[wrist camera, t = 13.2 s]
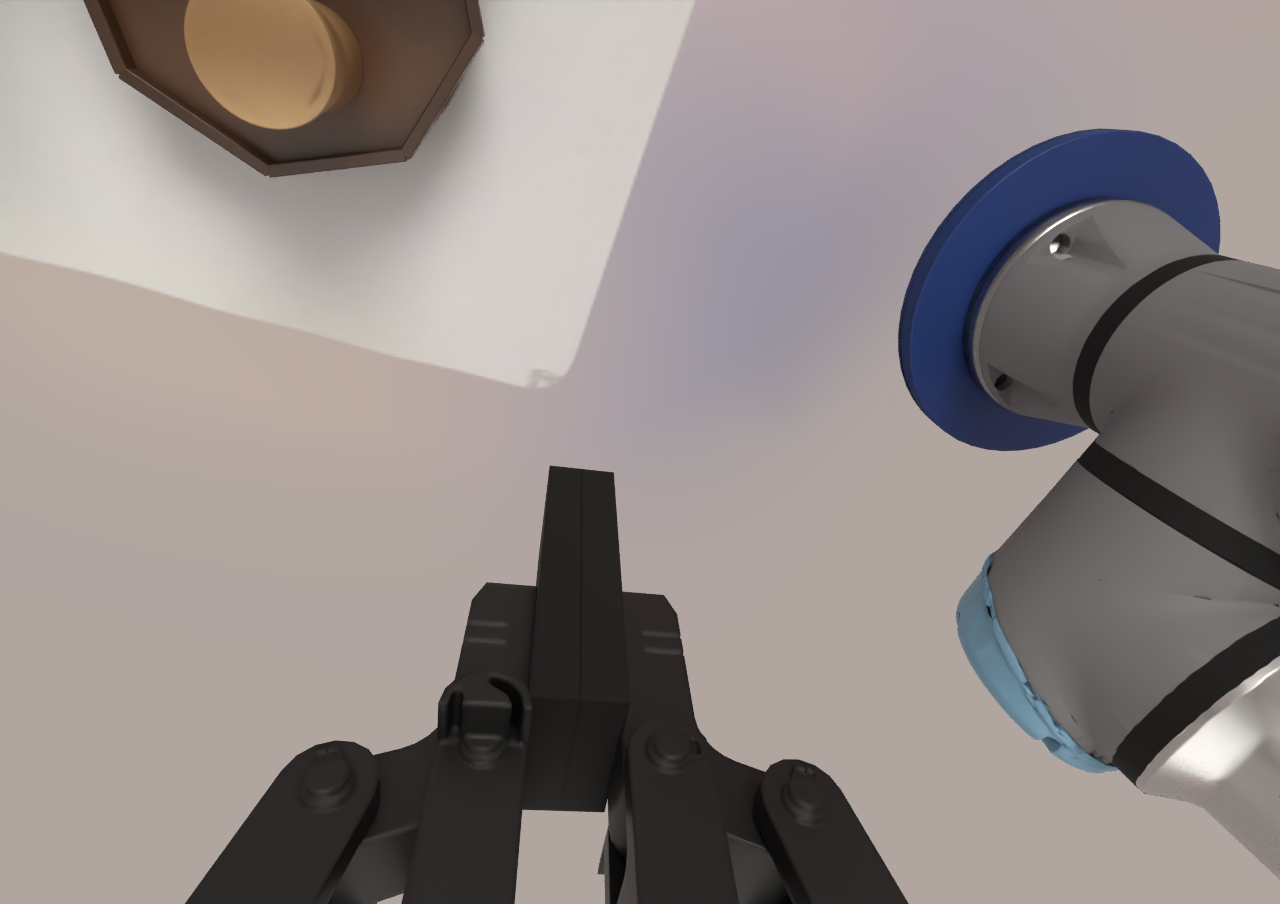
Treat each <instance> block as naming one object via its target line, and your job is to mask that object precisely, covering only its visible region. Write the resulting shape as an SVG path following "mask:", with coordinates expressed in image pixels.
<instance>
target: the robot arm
mask: <svg viewBox="0 0 1280 904" xmlns="http://www.w3.org/2000/svg"><path fill="white" fill-rule="evenodd" d="M962 344H963V355H964V360H965V364H966V367H967V370H968V372H969V374H970V376H971V378H972V380H973V381H974V383H975V384H976V385H977V387H978V388H979V389H980V390H981V391H982V392H983V393H984V394H985V395H987V396H988V397H990V398H991V399H993V400H994V401H996V402H997V403H999V404H1000V405H1002V406H1003V407H1005V408H1006V409H1008V410H1010V411H1012V412H1014V413H1017V414H1020V415H1023V416H1028V417H1034V418H1039V419H1045V420H1050V421H1055V422H1060V423H1065V424H1070V425H1076V426H1081V427H1086V428H1090V429H1092V430H1093V431H1095V432H1097V433H1098V434H1099V436H1098V437H1097V438H1096V439H1095V440H1094V442H1093V443H1092V444H1091V445H1090V446H1089V447H1088V448H1087V450H1086V451H1085V452H1084V453H1083V454H1082V455H1081V457H1080V458H1079V459H1077V461H1076V462H1075V463H1074V464H1073V465H1072V466H1071V468H1070V469H1069V470H1068V471H1067V472H1066V473H1065V475H1064V476H1063V477H1062V478H1061V479H1060V480H1059V481H1058V483H1057V484H1056V485H1055V486H1054V487H1053V489H1052V490H1051V491H1050V492H1049V493H1048V494H1047V495H1046V497H1045V498H1044V499H1043V500H1042V501H1041V502H1040V503H1039V504H1038V506H1037V507H1036V508H1035V509H1034V510H1033V511H1032V512H1031V513H1030V515H1029V516H1028V517H1027V518H1026V519H1025V520H1024V521H1023V522H1022V523H1021V525H1020V526H1019V527H1018V528H1017V529H1016V530H1015V531H1014V532H1013V534H1012V535H1011V536H1010V537H1009V538H1008V539H1007V540H1006V541H1005V543H1004V544H1003V545H1002V546H1001V547H1000V548H999V549H998V550H997V551H996V552H994V553H992V554H990V556H989V557H988V558H987V559H986V561H985V563H984V565H983V568H982V571H981V572H980V574H979V575H978V576H977V578H976V579H975V580H974V581H973V583H972V584H971V585H970V587H969V588H968V589H967V590H966V592H965V593H964V594H963V596H962V597H961V599H960V601H959V604H958V607H957V612H956V617H957V625H958V636H959V639H960V642H961V645H962V647H963V649H964V652H965V654H966V656H967V658H968V660H969V662H970V664H971V666H972V667H973V669H974V670H975V672H976V674H977V675H978V676H979V678H980V679H981V681H982V683H983V684H984V686H985V687H986V688H987V689H988V691H989V692H990V693H991V695H992V696H993V697H994V698H995V700H996V701H997V702H998V703H999V705H1000V706H1001V707H1002V708H1003V709H1004V710H1005V712H1006V713H1007V714H1008V715H1009V716H1010V717H1011V718H1012V719H1013V720H1014V721H1015V722H1016V723H1017V724H1018V725H1019V726H1020V727H1021V728H1022V729H1023V730H1024V731H1025V732H1026V733H1027V734H1029V735H1030V736H1031V737H1032V738H1033V739H1036V740H1040V739H1041V740H1042V741H1043V742H1044V744H1045V745H1046V746H1047V748H1048V749H1049V751H1050V752H1051V753H1052V754H1054V755H1055V756H1057V757H1058V758H1059V759H1061V760H1062V761H1064V762H1066V763H1067V764H1069V765H1071V766H1073V767H1076V768H1079V769H1082V770H1084V771H1087V772H1090V773H1103V772H1106V771H1116V770H1118V769H1119V770H1120V771H1121V772H1122V773H1123V774H1124V775H1125V776H1126V777H1127V778H1128V779H1129V780H1130V781H1131V782H1132V783H1134V785H1135V786H1136V787H1137V788H1138V789H1140V790H1141V791H1142V792H1143V793H1145V794H1149V795H1154V796H1160V797H1165V798H1170V799H1176V800H1181V801H1186V802H1190V803H1192V804H1194V805H1197V806H1199V807H1201V808H1204V809H1205V810H1206V811H1207V812H1208V813H1209V814H1210V815H1211V816H1212V817H1214V819H1216V820H1217V821H1218V822H1219V823H1220V824H1221V825H1222V826H1223V827H1224V828H1225V829H1226V830H1227V831H1228V832H1230V834H1232V835H1233V836H1234V837H1235V838H1236V839H1237V840H1238V841H1239V842H1240V843H1241V844H1242V845H1243V846H1244V847H1246V848H1247V849H1248V850H1249V851H1250V852H1251V853H1252V854H1253V855H1254V856H1255V857H1256V858H1257V859H1258V860H1259V861H1260V862H1261V863H1263V864H1264V865H1265V866H1266V867H1267V868H1268V869H1269V870H1270V871H1271V872H1272V873H1273V874H1274V875H1275V876H1276V877H1278V878H1279V879H1280V270H1278V269H1275V268H1271V267H1267V266H1262V265H1258V264H1254V263H1250V262H1245V261H1241V260H1237V259H1233V258H1229V257H1225V256H1221V255H1219V254H1217V253H1216V252H1215V251H1214V250H1212V249H1211V248H1210V247H1208V246H1207V245H1206V244H1205V243H1203V242H1202V241H1201V240H1200V239H1198V238H1197V237H1196V236H1194V235H1193V234H1192V233H1191V232H1189V231H1188V230H1187V229H1186V228H1184V227H1183V226H1182V225H1180V224H1179V223H1178V222H1177V221H1175V220H1174V219H1173V218H1172V217H1171V216H1170V215H1168V214H1167V213H1166V212H1164V211H1163V210H1161V209H1159V208H1157V207H1155V206H1153V205H1150V204H1147V203H1143V202H1138V201H1133V200H1128V199H1123V198H1118V197H1109V196H1099V197H1090V198H1084V199H1080V200H1076V201H1073V202H1070V203H1067V204H1064V205H1062V206H1060V207H1057V208H1055V209H1053V210H1051V211H1049V212H1048V213H1046V214H1044V215H1042V216H1041V217H1039V218H1038V219H1036V220H1035V221H1033V222H1032V223H1030V224H1029V225H1028V226H1026V227H1025V228H1024V229H1023V230H1021V231H1020V232H1019V233H1018V234H1017V235H1016V236H1015V237H1014V238H1013V239H1012V240H1010V241H1009V242H1008V244H1007V245H1006V246H1005V247H1004V248H1003V249H1002V250H1001V251H1000V252H999V254H998V255H997V256H996V257H995V259H994V260H993V261H992V263H991V264H990V265H989V267H988V268H987V270H986V271H985V273H984V275H983V276H982V278H981V280H980V281H979V283H978V285H977V287H976V289H975V291H974V294H973V296H972V299H971V301H970V304H969V307H968V310H967V313H966V318H965V322H964V328H963V343H962ZM607 799H608V816H609V818H608V819H609V826H608V829H607V834H606V837H605V842H604V846H603V850H602V854H601V858H600V863H599V868H598V874H604V873H605V904H908V902H907V900H906V899H905V897H904V896H903V894H902V892H901V890H900V889H899V887H898V885H897V883H896V882H895V880H894V878H893V877H892V875H891V874H890V872H889V870H888V868H887V867H886V865H885V863H884V862H883V860H882V858H881V857H880V855H879V853H878V852H877V850H876V848H875V847H874V845H873V843H872V842H871V840H870V838H869V836H868V835H867V833H866V832H865V830H864V828H863V826H862V825H861V823H860V821H859V820H858V818H857V816H856V815H855V813H854V811H853V810H852V808H851V806H850V804H849V803H848V801H847V799H846V798H845V796H844V794H843V793H842V791H841V790H840V788H839V787H838V786H837V785H836V783H835V782H834V781H833V780H832V778H831V777H830V776H829V775H827V774H826V773H825V772H823V771H822V770H820V769H819V768H818V767H816V766H815V765H812V764H810V763H806V762H804V761H801V760H786V759H785V760H781V761H779V762H777V763H774V764H772V765H771V766H770V767H769V768H768V770H767V771H766V772H764V771H761V770H758V769H755V768H753V767H749V766H747V765H744V764H741V763H739V762H736V761H734V760H732V759H730V758H727V757H725V756H723V755H722V754H721V753H719V752H718V751H716V750H715V749H714V748H713V747H712V746H710V744H709V743H708V742H707V740H706V738H705V737H704V736H703V735H702V734H701V732H700V731H699V729H698V727H697V724H696V721H695V717H694V711H693V706H692V700H691V694H690V688H689V682H688V676H687V670H686V664H685V658H684V656H683V647H682V641H681V639H680V629H679V623H678V618H677V614H676V612H675V611H674V609H673V608H672V606H671V605H670V603H669V602H668V600H667V599H666V598H665V596H664V595H656V594H644V593H632V592H622V581H621V567H620V554H619V540H618V527H617V512H616V498H615V485H614V473H613V472H604V471H595V470H585V469H575V468H567V467H558V466H550V468H549V477H548V485H547V494H546V502H545V511H544V519H543V526H542V535H541V544H540V551H539V560H538V571H537V581H536V586H525V585H513V584H500V583H486V584H485V585H484V586H483V588H482V589H481V590H480V591H479V592H478V593H477V595H476V596H475V597H474V598H473V600H472V603H471V607H470V612H469V616H468V621H467V626H466V630H465V635H464V641H463V645H462V649H461V654H460V658H459V663H458V667H457V672H456V677H455V680H454V681H453V682H452V683H451V684H450V685H449V686H447V687H446V688H445V690H444V692H443V694H442V696H441V698H440V700H439V703H438V727H437V728H436V729H435V730H434V731H433V732H432V733H431V734H430V735H429V736H427V737H425V738H424V739H422V740H421V741H419V742H417V743H415V744H412V745H410V746H407V747H404V748H401V749H397V750H393V751H389V752H385V753H381V754H377V755H372V753H371V752H370V751H369V749H367V748H365V747H363V746H361V745H359V744H357V743H355V742H347V741H332V742H327V743H323V744H318V745H315V746H313V747H311V748H309V749H308V750H306V751H304V752H302V753H300V754H299V755H297V756H296V757H295V758H294V759H293V760H292V761H291V762H290V763H289V764H288V765H287V766H286V767H285V768H284V769H283V770H282V771H281V772H280V773H279V775H278V776H277V778H276V779H275V780H274V782H273V783H272V785H271V786H270V787H269V789H268V790H267V792H266V793H265V794H264V795H263V797H262V798H261V800H260V801H259V802H258V804H257V805H256V807H255V808H254V809H253V811H252V812H251V813H250V815H249V816H248V818H247V819H246V820H245V822H244V823H243V824H242V826H241V827H240V829H239V830H238V831H237V833H236V834H235V835H234V837H233V838H232V840H231V841H230V842H229V844H228V845H227V847H226V848H225V849H224V851H223V852H222V854H221V855H220V856H219V857H218V859H217V860H216V862H215V863H214V864H213V866H212V867H211V869H210V870H209V871H208V873H207V874H206V875H205V877H204V878H203V880H202V881H201V882H200V884H199V885H198V886H197V888H196V889H195V891H194V892H193V893H192V895H191V896H190V897H189V899H188V900H187V902H186V903H185V904H377V902H379V901H382V900H385V899H387V898H391V897H394V896H396V895H399V894H402V893H404V895H403V900H402V904H514V901H515V891H516V878H517V866H518V854H519V842H520V830H521V818H522V817H521V816H522V810H551V811H583V812H585V811H586V812H604V811H605V807H606V802H607Z"/></svg>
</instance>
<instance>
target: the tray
mask: <svg viewBox="0 0 1280 904" xmlns="http://www.w3.org/2000/svg"><path fill="white" fill-rule="evenodd" d="M84 3H85V5H86V7H87V10H88V12H89V14H90V17H91V19H92V21H93V24H94V26H95V28H96V31H97V33H98V35H99V38H100V40H101V42H102V45H103V47H104V49H105V51H106V54H107V56H108V58H109V61H110V63H111V65H112V68H113V70H114V72H115V74H120V75H119V78H120V79H121V80H122V81H124V82H125V83H127V84H128V85H130V86H131V87H133V88H134V89H136V90H137V91H139V92H140V93H142V94H143V95H145V96H146V97H148V98H149V99H151V100H152V101H154V102H155V103H157V104H158V105H160V106H161V107H163V108H164V109H166V110H167V111H169V112H170V113H172V114H173V115H175V116H176V117H178V118H179V119H181V120H182V121H184V122H185V123H187V124H188V125H190V126H191V127H193V128H194V129H196V130H197V131H199V132H200V133H202V134H203V135H205V136H206V137H208V138H209V139H211V140H212V141H214V142H215V143H217V144H218V145H220V146H221V147H223V148H224V149H226V150H227V151H229V152H230V153H232V154H233V155H234V156H236V157H237V158H239V159H240V160H242V161H243V162H245V163H246V164H248V165H249V166H251V167H252V168H254V169H255V170H257V171H258V172H260V173H261V174H263V175H264V176H268V175H269V177H280V176H288V175H296V174H305V173H313V172H322V171H330V170H338V169H348V168H355V167H364V166H372V165H380V164H389V163H397V162H405V161H407V160H408V159H410V158H412V157H413V155H414V154H415V152H416V151H417V149H418V147H419V146H420V144H421V142H422V141H423V139H424V138H425V136H426V134H427V133H428V131H429V130H430V128H431V126H432V125H433V124H434V123H435V122H436V121H437V120H438V118H439V117H440V116H441V114H442V113H443V112H444V110H445V109H446V107H447V106H448V105H449V103H450V102H451V100H452V98H453V96H454V94H455V92H456V91H457V89H458V87H459V85H460V83H461V81H462V78H463V75H464V73H465V71H466V70H467V68H468V67H469V65H470V63H471V62H472V60H473V58H474V57H475V55H476V54H477V52H478V50H479V49H480V47H481V46H482V44H483V42H484V40H483V38H481V37H485V34H484V28H483V22H482V17H481V11H480V6H479V0H84Z"/></svg>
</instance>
